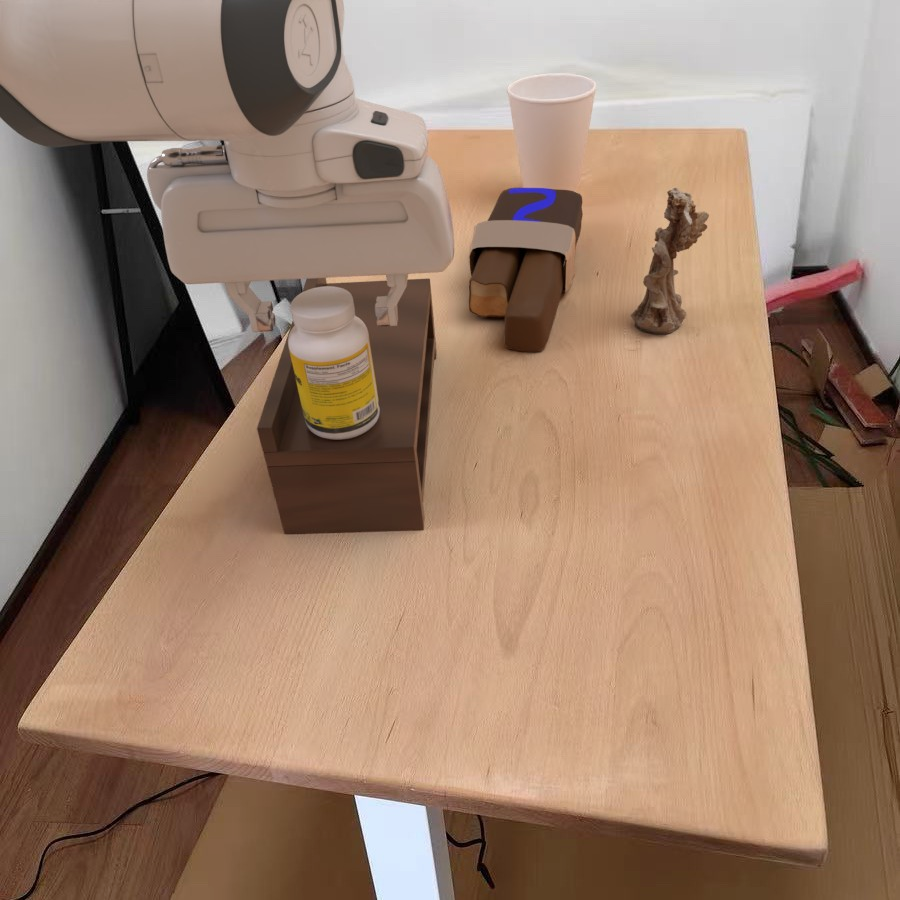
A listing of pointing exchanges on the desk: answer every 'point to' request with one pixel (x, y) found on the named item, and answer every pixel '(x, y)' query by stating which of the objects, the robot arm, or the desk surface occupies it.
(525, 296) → the chocolate bar pack
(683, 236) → the figurine
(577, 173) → the cup
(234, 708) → the desk surface
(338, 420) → the pill bottle
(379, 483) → the shelf
